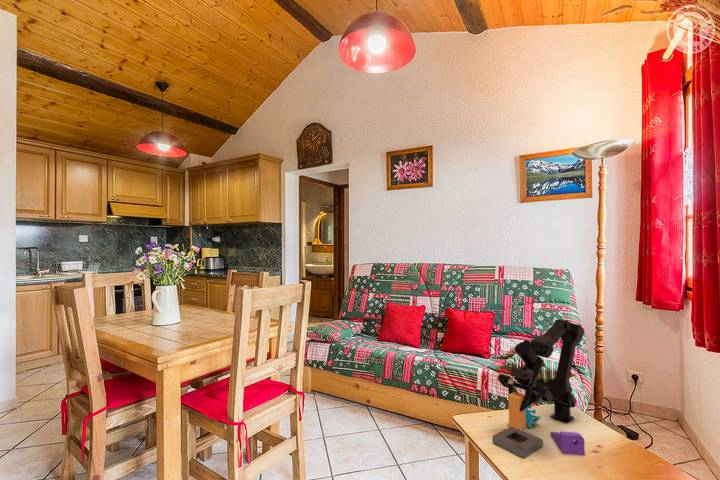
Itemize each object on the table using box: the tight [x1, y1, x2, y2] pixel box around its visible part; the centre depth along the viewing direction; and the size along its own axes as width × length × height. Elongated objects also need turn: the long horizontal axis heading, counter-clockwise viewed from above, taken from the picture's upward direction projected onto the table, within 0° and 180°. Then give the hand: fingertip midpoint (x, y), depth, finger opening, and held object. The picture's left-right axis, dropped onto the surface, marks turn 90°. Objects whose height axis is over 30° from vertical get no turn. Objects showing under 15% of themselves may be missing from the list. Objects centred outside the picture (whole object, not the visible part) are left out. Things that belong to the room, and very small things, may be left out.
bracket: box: [550, 430, 586, 456], centre depth 130 cm, size 12×7×7 cm, turn 170°
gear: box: [523, 404, 541, 429], centre depth 146 cm, size 11×6×10 cm
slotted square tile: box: [491, 426, 544, 459], centre depth 131 cm, size 12×12×2 cm
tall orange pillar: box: [507, 392, 527, 430], centre depth 131 cm, size 4×4×11 cm
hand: (514, 408), depth 130 cm, fingers closed on tall orange pillar, 4 cm apart
